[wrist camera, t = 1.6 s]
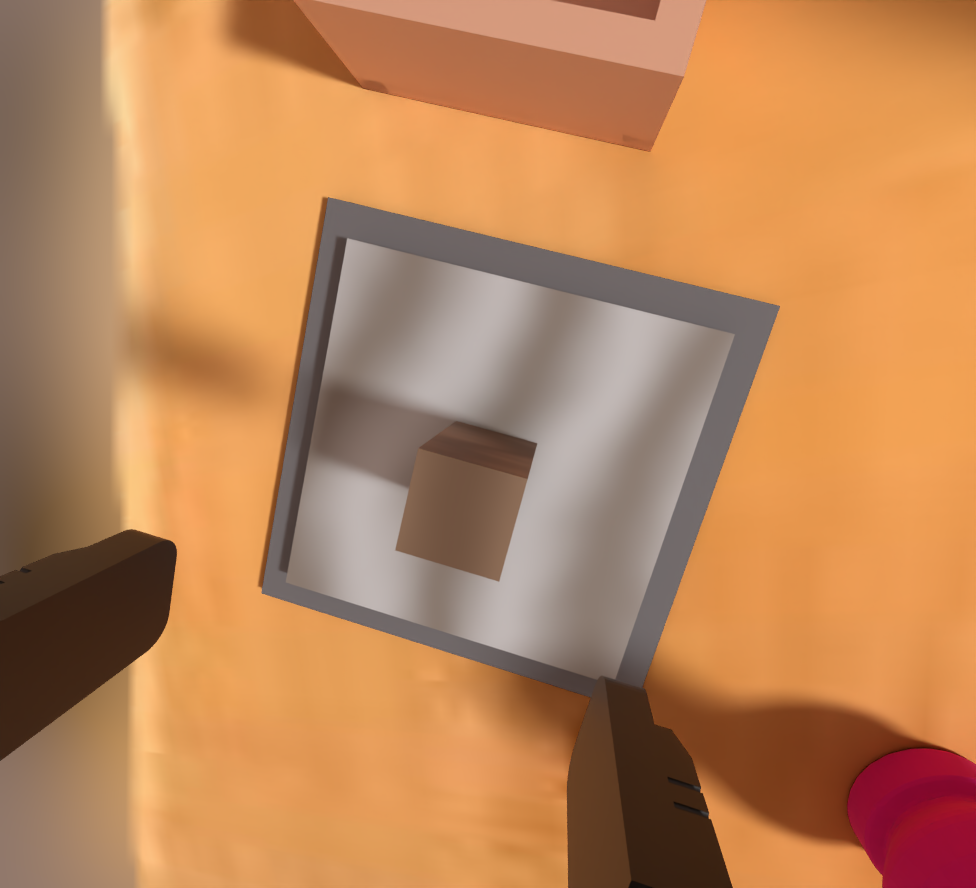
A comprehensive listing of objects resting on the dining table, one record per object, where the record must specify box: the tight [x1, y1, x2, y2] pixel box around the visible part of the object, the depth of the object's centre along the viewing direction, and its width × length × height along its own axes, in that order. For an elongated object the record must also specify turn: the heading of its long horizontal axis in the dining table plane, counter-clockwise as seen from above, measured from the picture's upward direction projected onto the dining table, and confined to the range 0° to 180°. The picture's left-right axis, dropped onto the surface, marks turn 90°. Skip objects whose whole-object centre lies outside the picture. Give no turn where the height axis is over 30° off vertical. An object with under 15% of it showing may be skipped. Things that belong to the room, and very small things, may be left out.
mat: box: [262, 197, 780, 697], centre depth 24 cm, size 19×19×1 cm
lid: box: [286, 238, 735, 680], centre depth 20 cm, size 16×16×7 cm
